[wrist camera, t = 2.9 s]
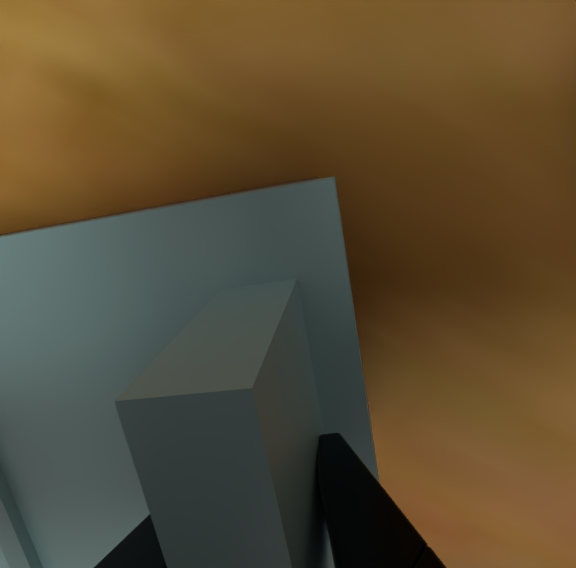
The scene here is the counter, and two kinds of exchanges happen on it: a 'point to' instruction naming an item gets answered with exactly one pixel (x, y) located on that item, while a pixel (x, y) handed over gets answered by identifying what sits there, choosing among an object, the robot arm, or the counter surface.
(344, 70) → the counter surface
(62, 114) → the counter surface
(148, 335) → the lid
